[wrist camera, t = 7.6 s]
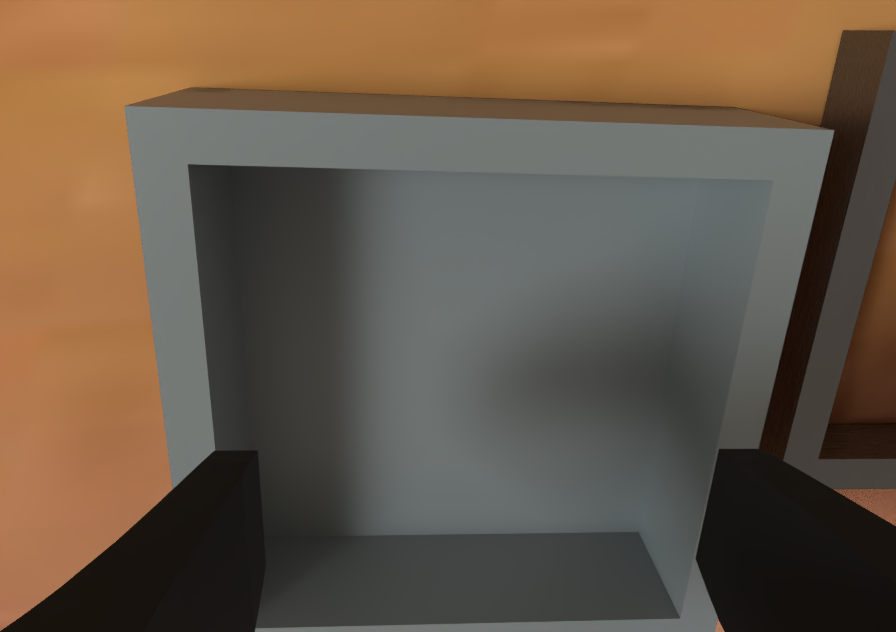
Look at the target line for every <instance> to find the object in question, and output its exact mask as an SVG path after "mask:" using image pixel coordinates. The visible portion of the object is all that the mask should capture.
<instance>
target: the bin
mask: <svg viewBox="0 0 896 632" xmlns="http://www.w3.org/2000/svg"><path fill="white" fill-rule="evenodd" d="M125 114H126V122H127V130H128V138H129V146H130V154H131V161H132V169H133V177H134V185H135V193H136V201H137V209H138V217H139V225H140V233H141V241H142V249H143V257H144V265H145V273H146V281H147V288H148V296H149V304H150V312H151V320H152V328H153V336H154V344H155V352H156V360H157V368H158V376H159V384H160V392H161V400H162V407H163V415H164V423H165V431H166V439H167V447H168V455H169V463H170V471H171V479H172V487H173V489H174V488H175V487H176V486H177V485H178V484H179V483H180V482H181V481H182V480H183V479H184V478H185V477H186V476H187V475H188V474H189V473H190V472H191V471H193V470H194V469H195V468H196V467H197V466H198V465H199V464H200V463H201V462H202V461H203V460H204V459H206V458H207V457H208V456H209V455H210V454H211V453H212V452H213V451H230V450H258V460H259V474H260V488H261V502H262V516H263V531H264V545H265V559H266V568H265V575H264V581H263V587H262V593H261V599H260V605H259V611H258V617H257V622H256V628H255V632H715V629H716V625H717V620H718V617H717V614H716V612H715V609H714V607H713V604H712V602H711V599H710V597H709V594H708V592H707V589H706V586H705V583H704V581H703V578H702V575H701V572H700V570H699V567H698V564H697V561H696V559H695V558H696V554H697V549H698V544H699V540H700V535H701V530H702V526H703V521H704V516H705V512H706V507H707V502H708V498H709V493H710V488H711V484H712V479H713V474H714V470H715V465H716V461H717V456H718V451H719V449H759V444H760V440H761V436H762V432H763V428H764V423H765V419H766V415H767V411H768V407H769V403H770V398H771V394H772V390H773V386H774V382H775V377H776V373H777V369H778V365H779V361H780V356H781V352H782V348H783V344H784V340H785V336H786V331H787V327H788V323H789V319H790V315H791V310H792V306H793V302H794V298H795V294H796V289H797V285H798V281H799V277H800V273H801V268H802V264H803V260H804V256H805V252H806V248H807V243H808V239H809V235H810V231H811V227H812V222H813V218H814V214H815V210H816V206H817V201H818V197H819V193H820V189H821V185H822V181H823V176H824V172H825V168H826V164H827V160H828V155H829V151H830V147H831V143H832V139H833V134H834V130H832V129H827V128H823V127H819V126H814V125H810V124H805V123H801V122H797V121H792V120H788V119H784V118H779V117H775V116H770V115H766V114H762V113H757V112H753V111H748V110H744V109H740V108H735V107H716V106H688V105H660V104H633V103H605V102H578V101H550V100H522V99H495V98H467V97H439V96H412V95H384V94H357V93H329V92H301V91H274V90H246V89H219V88H191V87H190V88H187V89H183V90H180V91H176V92H173V93H169V94H166V95H162V96H158V97H155V98H151V99H148V100H144V101H141V102H137V103H134V104H130V105H126V106H125Z"/></svg>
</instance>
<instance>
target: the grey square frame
mask: <svg viewBox="0 0 896 632" xmlns="http://www.w3.org/2000/svg"><path fill="white" fill-rule="evenodd" d="M821 127H823V128H827V129H832V130H834V134H833V139H832V143H831V147H830V151H829V155H828V160H827V164H826V168H825V172H824V176H823V181H822V185H821V189H820V193H819V197H818V201H817V206H816V210H815V214H814V218H813V222H812V227H811V231H810V235H809V239H808V243H807V248H806V252H805V256H804V260H803V264H802V268H801V273H800V277H799V281H798V285H797V289H796V294H795V298H794V302H793V306H792V310H791V315H790V319H789V323H788V327H787V331H786V336H785V340H784V344H783V348H782V352H781V356H780V361H779V365H778V369H777V373H776V377H775V382H774V386H773V390H772V394H771V398H770V403H769V407H768V411H767V415H766V419H765V423H764V428H763V432H762V436H761V440H760V444H759V449H760V450H762V451H764V452H767V453H769V454H771V455H773V456H775V457H777V458H779V459H781V460H782V461H784V462H786V463H788V464H790V465H791V466H793V467H795V468H797V469H799V470H800V471H802V472H804V473H806V474H807V475H809V476H811V477H812V478H814V479H816V480H818V481H819V482H821V483H823V484H824V485H826V486H828V487H829V488H831V489H896V424H828V422H829V418H830V415H831V411H832V407H833V404H834V400H835V397H836V393H837V389H838V386H839V382H840V379H841V375H842V371H843V368H844V364H845V361H846V357H847V353H848V350H849V346H850V343H851V339H852V335H853V332H854V328H855V325H856V321H857V317H858V314H859V310H860V307H861V303H862V299H863V296H864V292H865V289H866V285H867V281H868V278H869V274H870V270H871V267H872V263H873V260H874V256H875V252H876V249H877V245H878V242H879V238H880V234H881V231H882V227H883V224H884V220H885V216H886V213H887V209H888V206H889V202H890V198H891V195H892V191H893V188H894V184H895V180H896V31H849V30H843V32H842V37H841V41H840V45H839V50H838V54H837V58H836V63H835V67H834V71H833V76H832V80H831V84H830V89H829V93H828V97H827V102H826V106H825V110H824V115H823V119H822V123H821Z"/></svg>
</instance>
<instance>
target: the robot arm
mask: <svg viewBox="0 0 896 632" xmlns="http://www.w3.org/2000/svg"><path fill="white" fill-rule="evenodd" d="M695 559H696V561H697V564H698V567H699V570H700V572H701V575H702V578H703V581H704V583H705V586H706V589H707V592H708V594H709V597H710V599H711V602H712V604H713V607H714V609H715V612H716V614H717V617H718V619H719V622H720V623H721V625H722V627H723V629H724V631H725V632H896V526H894V525H892V524H891V523H889V522H887V521H886V520H884V519H882V518H880V517H879V516H877V515H875V514H874V513H872V512H870V511H868V510H867V509H865V508H863V507H862V506H860V505H858V504H857V503H855V502H853V501H851V500H850V499H848V498H846V497H845V496H843V495H841V494H840V493H838V492H836V491H834V490H833V489H831V488H829V487H828V486H826V485H824V484H823V483H821V482H819V481H818V480H816V479H814V478H812V477H811V476H809V475H807V474H806V473H804V472H802V471H800V470H799V469H797V468H795V467H793V466H791V465H790V464H788V463H786V462H784V461H782V460H781V459H779V458H777V457H775V456H773V455H771V454H769V453H767V452H764V451H762V450H760V449H719V451H718V456H717V461H716V465H715V470H714V474H713V479H712V484H711V488H710V493H709V498H708V502H707V507H706V512H705V516H704V521H703V526H702V530H701V535H700V540H699V544H698V549H697V554H696V558H695ZM265 568H266V559H265V545H264V531H263V516H262V502H261V488H260V474H259V460H258V450H230V451H213V452H212V453H211V454H210V455H209V456H208V457H207V458H206V459H204V460H203V461H202V462H201V463H200V464H199V465H198V466H197V467H196V468H195V469H194V470H193V471H191V472H190V473H189V474H188V475H187V476H186V477H185V478H184V479H183V480H182V481H181V482H180V483H179V484H178V485H177V486H176V487H175V488H174V489H173V490H172V491H170V492H169V493H168V494H167V495H166V496H165V497H164V498H163V499H162V500H161V501H160V502H159V503H158V504H157V505H156V506H155V507H154V508H152V509H151V510H150V511H149V512H148V513H147V514H146V515H145V516H144V517H143V518H141V519H140V520H139V521H138V522H137V523H136V524H135V525H134V526H133V527H131V528H130V529H129V530H128V531H127V532H126V533H125V534H124V535H123V536H122V537H120V538H119V539H118V540H117V541H116V542H115V543H114V544H112V545H111V546H110V547H109V548H108V549H106V550H105V551H104V552H103V553H102V554H100V555H99V556H98V557H97V558H95V559H94V560H93V561H92V562H91V563H89V564H88V565H87V566H86V567H85V568H83V569H82V570H81V571H80V572H79V573H77V574H76V575H75V576H74V577H72V578H71V579H70V580H69V581H68V582H66V583H65V584H64V585H63V586H62V587H60V588H59V589H58V590H56V591H55V592H54V593H52V594H51V595H50V596H49V597H47V598H46V599H45V600H43V601H42V602H41V603H39V604H38V605H36V606H35V607H34V608H32V609H31V610H30V611H28V612H27V613H26V614H24V615H23V616H22V617H20V618H19V619H17V620H16V621H14V622H13V623H11V624H10V625H9V626H7V627H6V628H4V629H3V630H1V631H0V632H255V628H256V622H257V617H258V611H259V605H260V599H261V593H262V587H263V581H264V575H265Z"/></svg>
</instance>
